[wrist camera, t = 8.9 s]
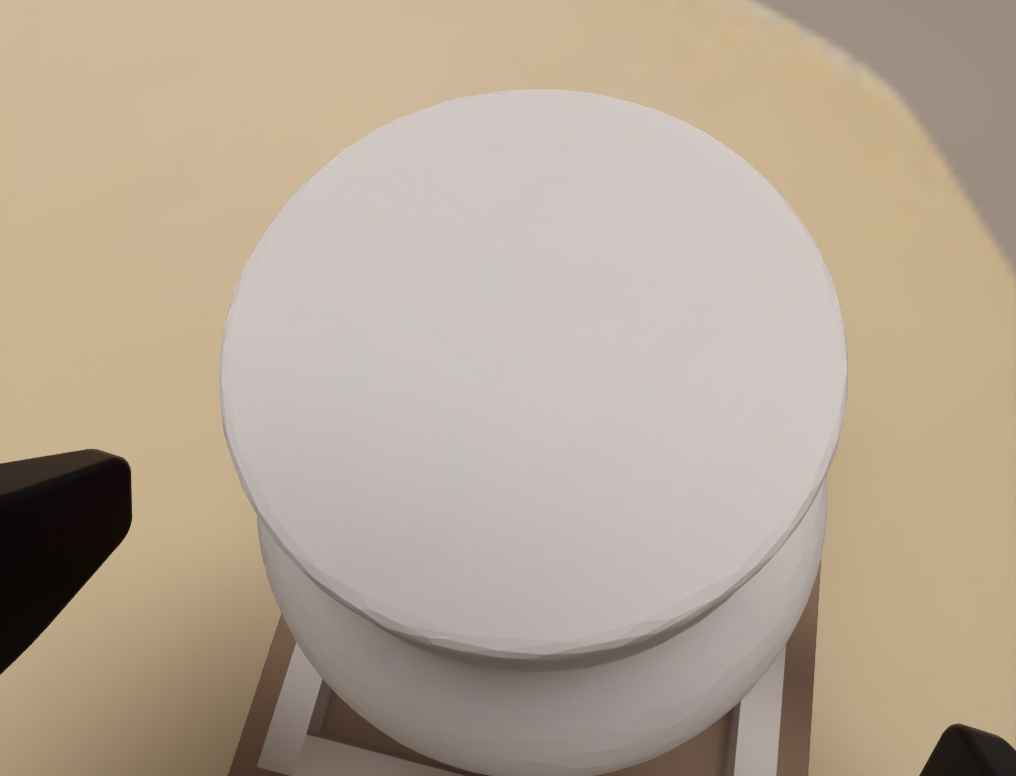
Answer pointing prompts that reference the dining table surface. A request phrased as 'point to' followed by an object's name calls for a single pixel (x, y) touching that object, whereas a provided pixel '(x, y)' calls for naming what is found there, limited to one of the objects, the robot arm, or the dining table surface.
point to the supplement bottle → (537, 427)
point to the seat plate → (404, 772)
